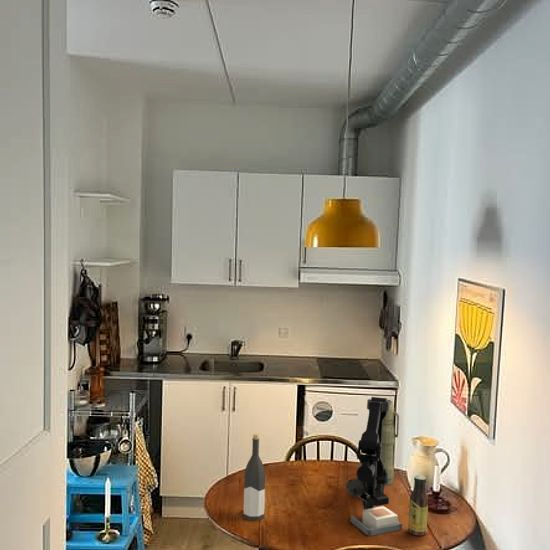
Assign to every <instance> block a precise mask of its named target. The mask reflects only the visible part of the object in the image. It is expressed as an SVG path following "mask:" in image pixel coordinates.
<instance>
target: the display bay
mask: <svg viewBox="0 0 550 550" xmlns="http://www.w3.org/2000/svg"><path fill="white" fill-rule="evenodd" d="M351 522H352V524H353V525H354V526H355V527H357V529H358V530H360V531H361V532H363V533H364V534H365V535H367V537H371V536H375V535H381V534H387V533H391V532H396V531H402V530H403V523H402V522H400V521H399V520H398V523H396V524H391V525H386V526H381V527H376V528H371V529H370V528H369V527H368V526H366V525H365V524H364V523H363V521H360V520H359V519H357V517H356V516H355V515H352V516H350V523H351Z"/></svg>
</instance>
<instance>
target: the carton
mask: <svg viewBox="0 0 550 550" xmlns="http://www.w3.org/2000/svg"><path fill="white" fill-rule="evenodd" d="M398 521H399V516H398V515H397V514H396V513H395V512H394V511H393V510H391V509H389V508H387V507H385V506H384V505H380V506H374V507H373V508H370V509H365V510H364V509H362V523H363V524H364V525H365V526H367V527H368V528H369V529H371V528H376V527H381V526H386V525H391V524H396V523H398Z"/></svg>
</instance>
